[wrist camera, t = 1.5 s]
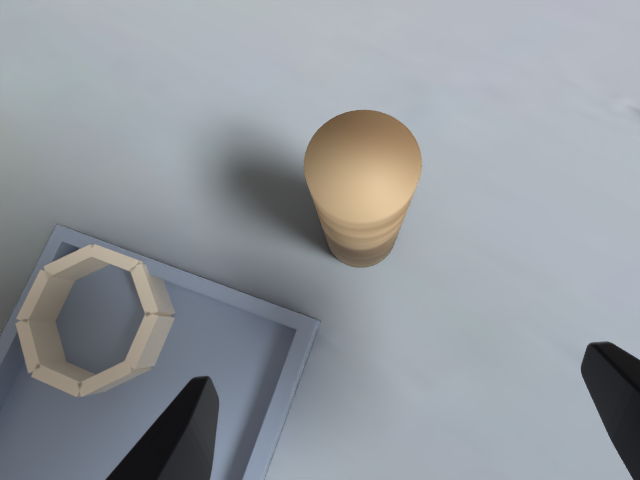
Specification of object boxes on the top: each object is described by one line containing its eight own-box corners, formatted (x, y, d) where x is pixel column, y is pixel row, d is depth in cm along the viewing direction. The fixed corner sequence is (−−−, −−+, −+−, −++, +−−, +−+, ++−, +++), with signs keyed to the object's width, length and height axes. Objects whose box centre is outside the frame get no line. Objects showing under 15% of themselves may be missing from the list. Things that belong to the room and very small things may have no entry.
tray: (208, 637, 20) (187, 679, 17) (-51, 499, 22) (-101, 520, 20) (320, 321, 23) (315, 319, 20) (80, 232, 25) (50, 221, 23)
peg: (383, 277, 23) (401, 234, 13) (316, 254, 23) (287, 198, 14) (404, 212, 24) (436, 127, 14) (339, 192, 24) (326, 97, 14)
